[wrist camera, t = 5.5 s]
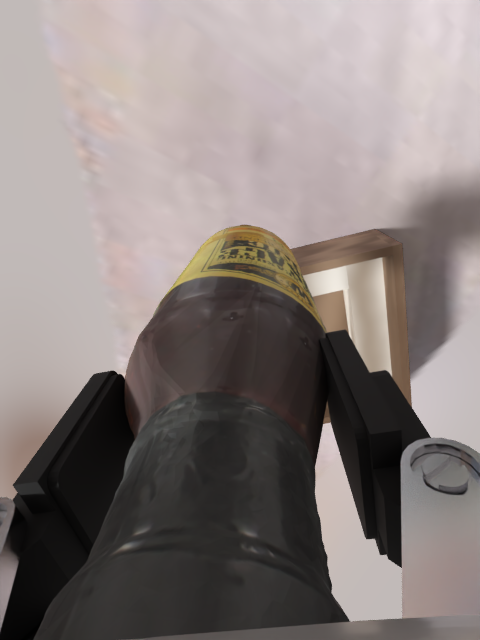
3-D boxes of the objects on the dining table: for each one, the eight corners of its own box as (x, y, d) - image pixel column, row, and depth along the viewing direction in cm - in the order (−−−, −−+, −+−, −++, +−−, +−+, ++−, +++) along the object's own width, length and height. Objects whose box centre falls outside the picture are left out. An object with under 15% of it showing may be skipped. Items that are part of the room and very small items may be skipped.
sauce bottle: (316, 270, 22) (679, 841, 3) (246, 335, 24) (245, 922, 5) (238, 192, 20) (152, 538, 2) (169, 270, 22) (-213, 818, 4)
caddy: (374, 229, 37) (402, 243, 30) (387, 371, 44) (411, 407, 37) (208, 268, 39) (201, 290, 32) (247, 398, 46) (247, 437, 39)
